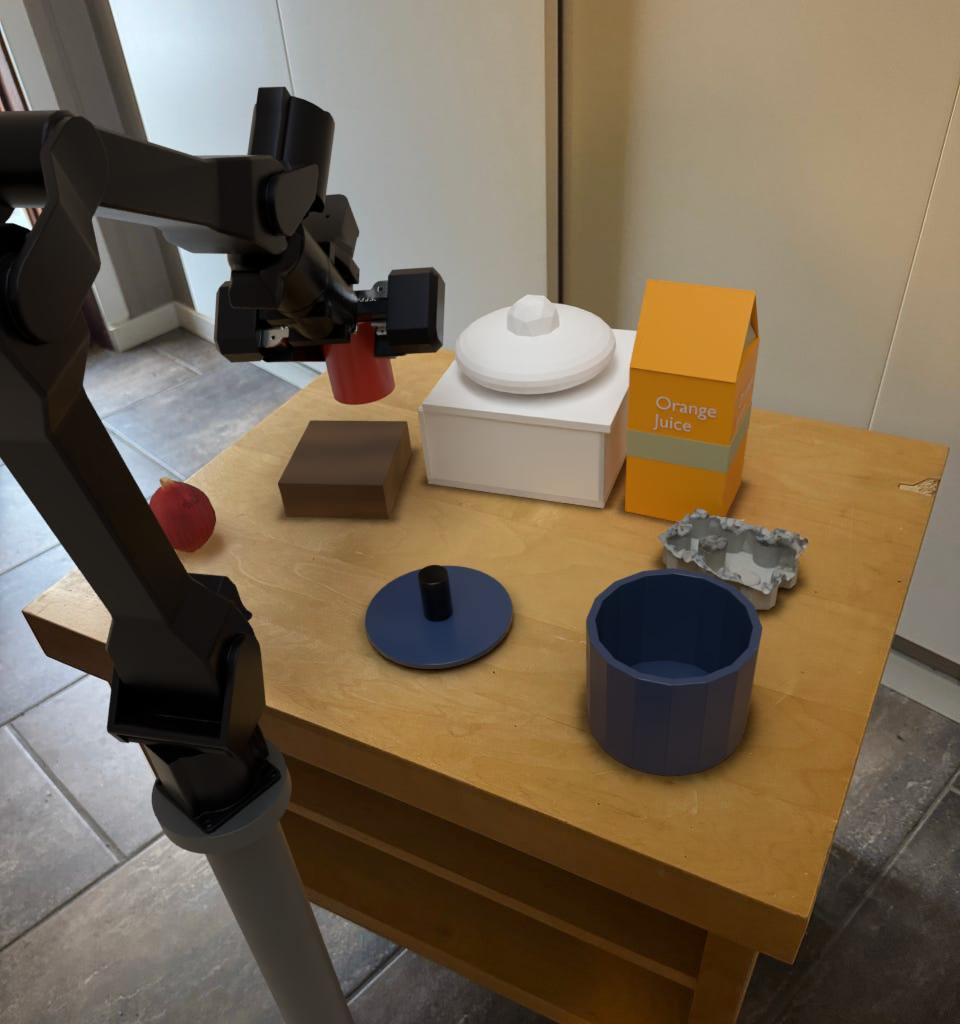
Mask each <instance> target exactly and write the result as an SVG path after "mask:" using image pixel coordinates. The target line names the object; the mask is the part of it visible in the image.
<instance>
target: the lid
mask: <svg viewBox="0 0 960 1024" xmlns="http://www.w3.org/2000/svg"><path fill="white" fill-rule="evenodd" d="M513 611H514V609H513V603H512V599H511V596H510V594H509V592H508V591H507V589H506V587H504V586H503V585H502V583H500V581H498V580H497V579H495V578H494V577H493V576H491V575H489V574H488V573H486V572H483V571H481V570H479V569H475V568H472V567H467V566H459V565H439V564H429V565H426V566H423V568H418V569H415V570H412V571H409V572H407V573H404V574H402V575H400V576H398V577H396V578H394V579H392V580H390V581H389V582H388V583H386V584H385V585H383V587H381V588H380V589H379V590H378V591H377V592H376V593H375V595H374V596H373V597H372V599H371V600H370V602H369V604H368V606H367V609H366V612H365V616H364V627H365V631H366V636H367V638H368V640H369V642H370V643H371V645H372V646H373V648H374V649H375V650H376V651H377V652H378V653H379V654H381V655H382V656H383V657H385V658H386V659H388V660H390V661H391V662H394V663H395V664H398V665H402V666H405V667H409V668H415V669H421V670H422V669H423V670H424V669H425V670H437V669H438V670H439V669H440V670H441V669H447V668H448V669H449V668H453V667H457V666H461V665H464V664H467V663H471V662H472V661H475V660H476V659H479V658H481V657H483V656H484V655H486V654H488V653H489V652H491V651H492V650H494V649H495V648H496V647H497V646H498V645H499V644H500V643H501V642H502V641H503V639H504V638H505V637H506V635H507V634H508V632H509V630H510V627H511V626H512V622H513V613H514V612H513Z"/></svg>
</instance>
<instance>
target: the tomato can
mask: <svg viewBox="0 0 960 1024" xmlns="http://www.w3.org/2000/svg"><path fill="white" fill-rule="evenodd" d="M358 325H359V328H358V333H357V334H356V335H351V343H348V344H329V345H322V350H323V354H324V358H325V362H324V363H325V365H326V370H327V374H328V377H329V378H328V379H329V383H330V387H331V391H332V392H331V393H332V395H333V398H334V400H335V401H336V402H337V403H341V404H343V405H347V406H349V405H350V406H359V405H360V406H361V405H367V404H371V403H375V402H378V401H381V400H383V399H385V398H387V397H388V396H389V395H391V394H392V393H393V392H394V390H395V388H396V382H395V377H394V372H393V371H394V370H393V366H392V362H391V360H392V359H386V358H377V357H374V342H375V329H373V327H372V326H371V322H359V323H358Z"/></svg>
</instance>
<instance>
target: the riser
mask: <svg viewBox="0 0 960 1024" xmlns="http://www.w3.org/2000/svg"><path fill="white" fill-rule="evenodd" d="M408 424H409V423H408V421H407V420H321V419H320V420H314V419H311V420H309V422H308V424H307V426H306V427H305V429H304V431H303V434H302V435H301V437H300V439H299V440H298V443H297V445H296V446H295V448H294V451H293V453H292V455H291V456H290V458H289V461H288V462H287V464H286V466H285V468H284V470H283V472H282V474H281V476H280V478H279V479H278V481H277V486H278V489H279V494H280V497H281V501H282V504H283V508H284V512H285V515H286V517H300V518H305V517H306V518H337V519H339V518H341V519H373V520H374V519H379V520H389V519H390V516H391V513H392V511H393V507H394V505H395V502H396V500H397V497H398V494H399V491H400V488H401V486H402V483H403V480H404V477H405V475H406V472H407V469H408V466H409V464H410V461H411V459H412V456H413V452H412V444H411V437H410V431H409V425H408Z"/></svg>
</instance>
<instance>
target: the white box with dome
mask: <svg viewBox="0 0 960 1024" xmlns="http://www.w3.org/2000/svg"><path fill="white" fill-rule="evenodd" d="M636 333H637V330H631V329H618V328H612V327H610V326H609V325H608V324H607V323H606V322H605V321H604V319H602V318H601V317H600V316H598V315H596V314H594V313H593V312H590V311H588V310H586V309H583V308H580V307H578V306H573V305H569V304H565V303H564V304H563V303H556V302H551V301H550V300H549V299H548V298H547V297H546V296H545V295H539V294H528V293H527V294H526V295H525V296H523V297H521V298H520V299H518V300H517V301H515V302H514V303H513V304H512V305H510V306H506V307H503V308H499V309H497V310H493V311H491V312H489V313H487V314H486V315H485V314H484V315H483V316H481V317H479V318H478V319H476V320H474V321H472V322H471V323H470V324H469V325H468V326H467V327H466V328H465V329H464V330H463V331H462V332H461V333H460V335H459V336H458V338H457V340H456V342H455V347H454V354H453V355H454V360H453V361H452V362H451V364H450V366H449V367H448V368H446V370H445V372H444V374H443V375H442V376H441V378H440V379H439V380H438V382H437V383H436V384H435V386H434V387H433V388H432V390H431V391H430V392H429V394H428V395H427V396H426V397H425V399H424V400H423V401H422V403H421V405H419V406H418V408H417V414H418V422H419V429H420V430H419V431H420V435H421V436H420V437H421V445H422V451H423V457H424V465H425V473H426V479H427V483H428V485H435V486H442V487H443V486H444V487H450V488H456V489H457V488H458V489H463V490H464V489H465V490H470V491H478V492H485V493H492V494H498V495H499V494H500V495H507V496H513V497H519V498H528V499H535V500H541V501H549V502H555V503H563V504H571V505H577V506H583V507H591V508H598V509H604V508H605V507H606V504H607V501H608V500H609V498H610V495H611V492H612V490H613V488H614V486H615V483H616V481H617V478H618V475H619V474H620V472H621V469H622V467H623V465H624V463H625V460H626V459H627V455H626V444H627V428H628V401H629V369H630V362H631V357H632V352H633V347H634V342H635V337H636Z"/></svg>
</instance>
